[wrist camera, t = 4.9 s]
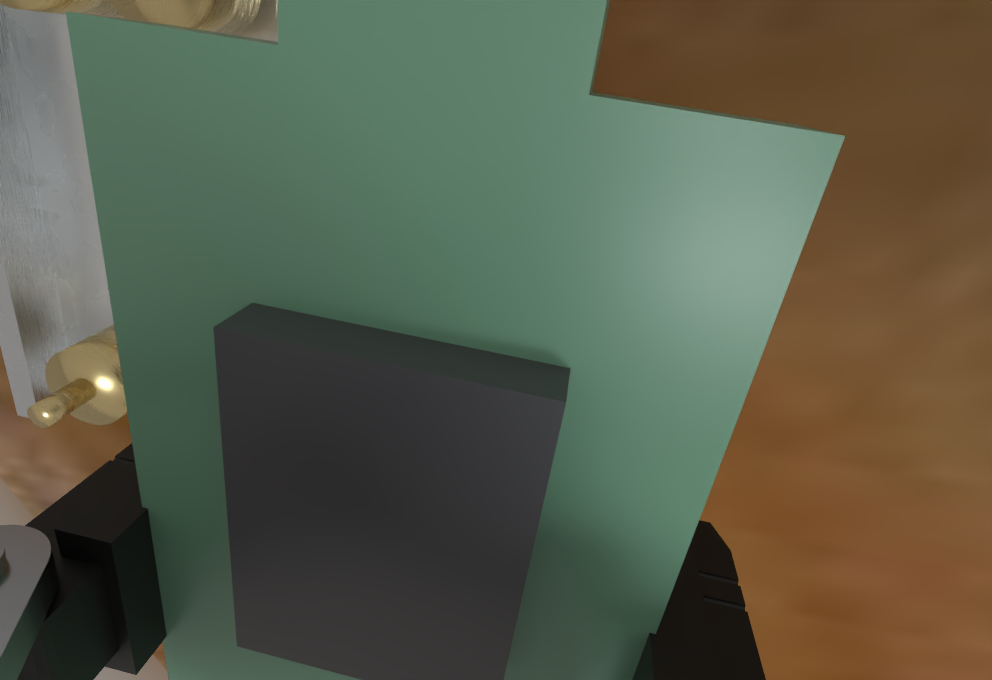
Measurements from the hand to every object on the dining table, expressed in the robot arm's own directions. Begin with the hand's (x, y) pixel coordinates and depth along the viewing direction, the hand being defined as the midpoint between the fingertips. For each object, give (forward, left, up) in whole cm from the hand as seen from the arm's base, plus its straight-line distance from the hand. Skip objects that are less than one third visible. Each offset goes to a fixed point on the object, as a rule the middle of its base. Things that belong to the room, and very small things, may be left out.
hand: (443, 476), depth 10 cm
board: (0, 0, +2) cm, 2 cm away
